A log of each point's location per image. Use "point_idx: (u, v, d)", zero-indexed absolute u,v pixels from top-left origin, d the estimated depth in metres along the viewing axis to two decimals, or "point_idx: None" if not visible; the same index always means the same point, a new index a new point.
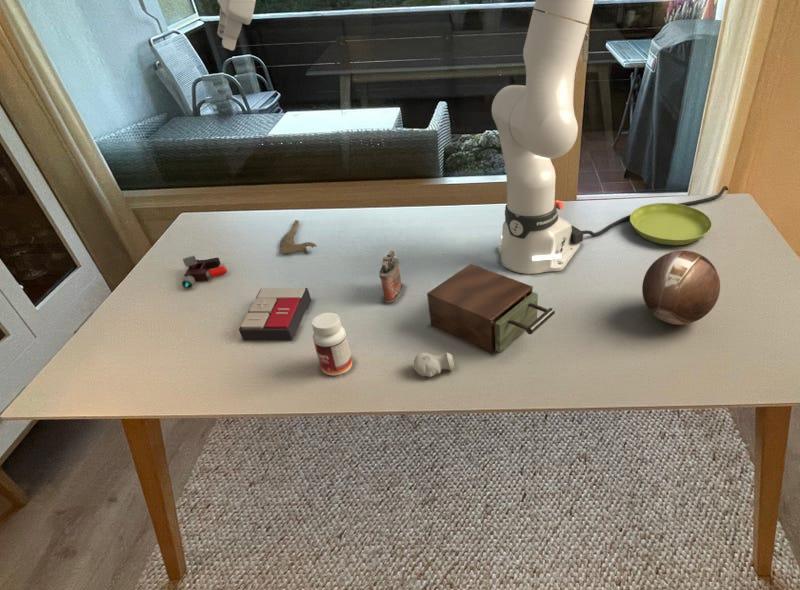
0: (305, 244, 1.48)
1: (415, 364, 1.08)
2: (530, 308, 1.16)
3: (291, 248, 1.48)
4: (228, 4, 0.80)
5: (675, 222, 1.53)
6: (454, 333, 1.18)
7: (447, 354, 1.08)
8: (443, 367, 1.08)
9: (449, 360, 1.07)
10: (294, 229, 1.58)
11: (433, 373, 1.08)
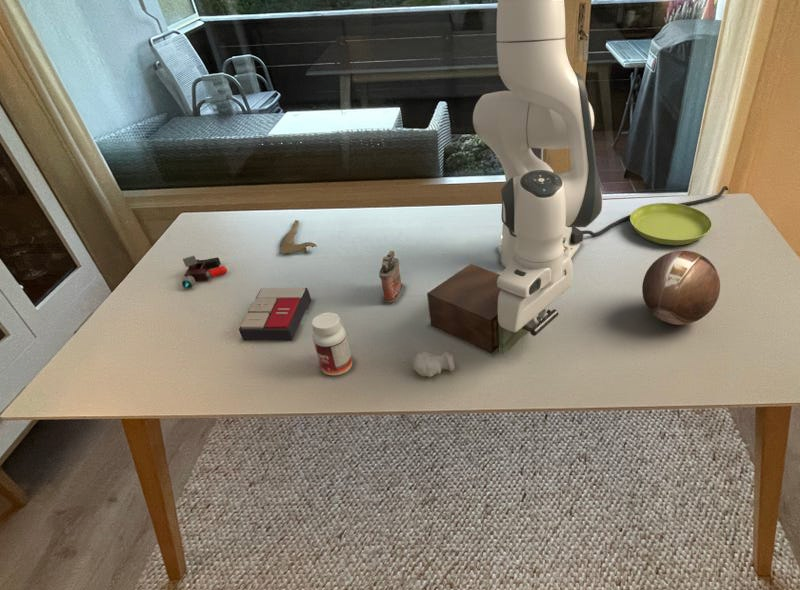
0: (305, 244, 1.48)
1: (415, 364, 1.08)
2: None
3: (291, 248, 1.48)
4: None
5: (675, 222, 1.53)
6: (454, 333, 1.18)
7: (447, 354, 1.08)
8: (443, 367, 1.08)
9: (449, 360, 1.07)
10: (294, 229, 1.58)
11: (433, 373, 1.08)
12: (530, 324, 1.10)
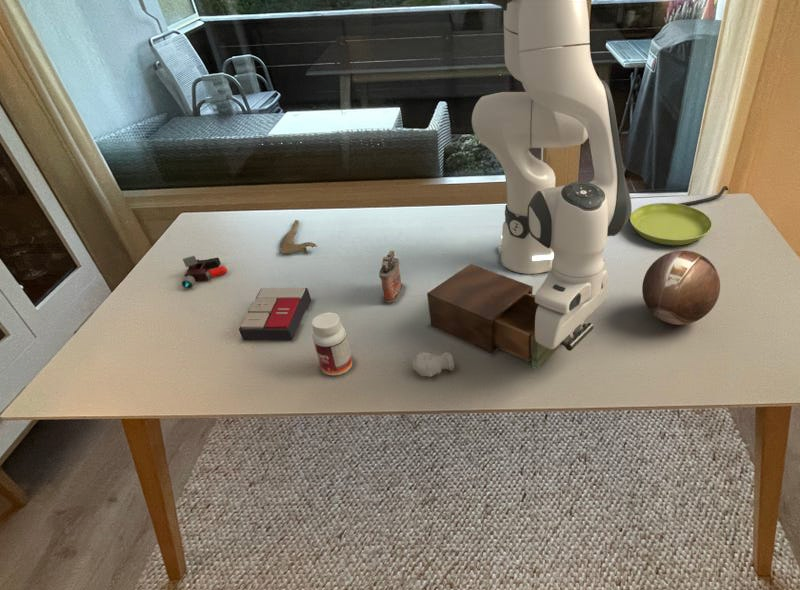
0: (305, 244, 1.48)
1: (415, 364, 1.08)
2: None
3: (291, 248, 1.48)
4: (607, 292, 1.09)
5: (675, 222, 1.53)
6: (454, 333, 1.18)
7: (447, 354, 1.08)
8: (443, 367, 1.08)
9: (449, 360, 1.07)
10: (294, 229, 1.58)
11: (433, 373, 1.08)
12: (565, 339, 1.07)
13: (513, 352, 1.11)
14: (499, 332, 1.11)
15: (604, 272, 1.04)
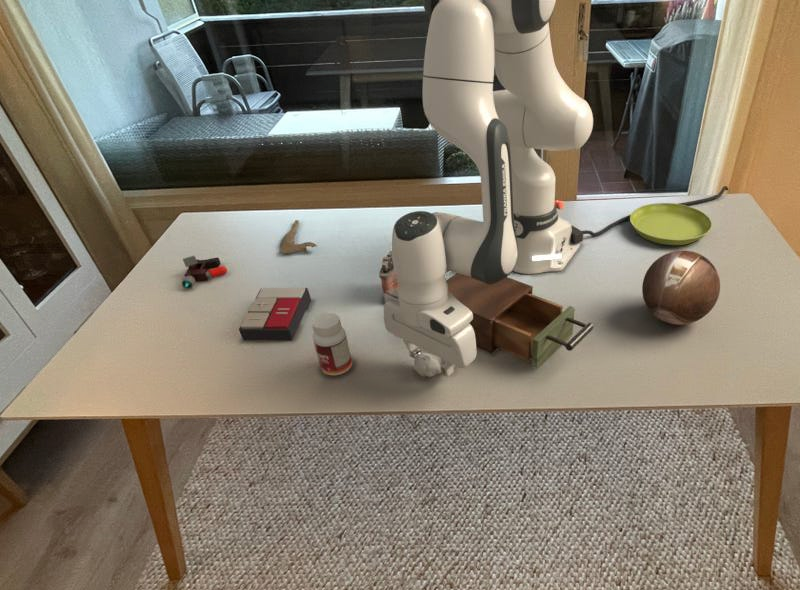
0: (305, 244, 1.48)
1: (415, 364, 1.08)
2: (567, 322, 1.12)
3: (291, 248, 1.48)
4: None
5: (675, 222, 1.53)
6: None
7: None
8: None
9: None
10: (294, 229, 1.58)
11: (433, 373, 1.08)
12: (448, 371, 1.06)
13: (513, 352, 1.11)
14: (499, 332, 1.11)
15: None
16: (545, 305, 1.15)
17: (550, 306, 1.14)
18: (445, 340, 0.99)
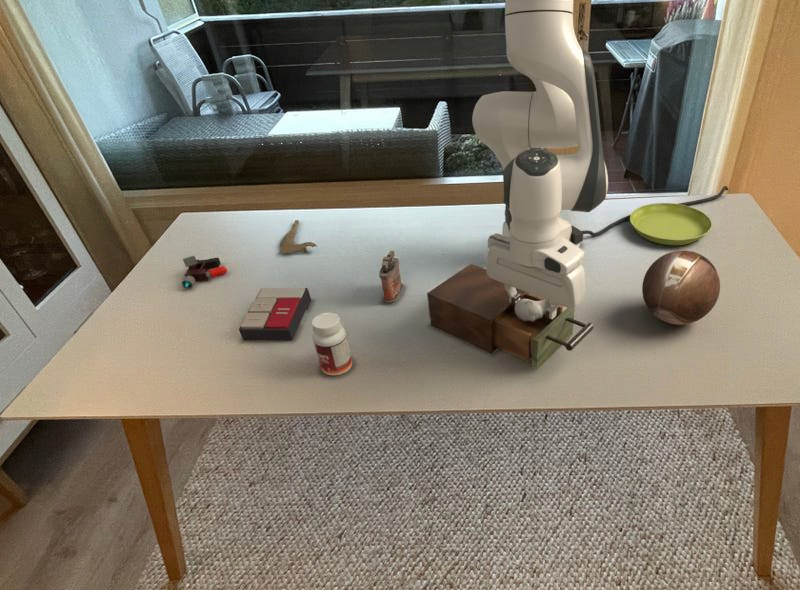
0: (305, 244, 1.48)
1: (517, 309, 1.09)
2: (567, 322, 1.12)
3: (291, 248, 1.48)
4: None
5: (675, 222, 1.53)
6: (454, 333, 1.18)
7: None
8: None
9: None
10: (294, 229, 1.58)
11: (536, 317, 1.09)
12: (552, 314, 1.07)
13: (513, 352, 1.11)
14: (499, 332, 1.11)
15: None
16: None
17: None
18: (556, 280, 1.00)
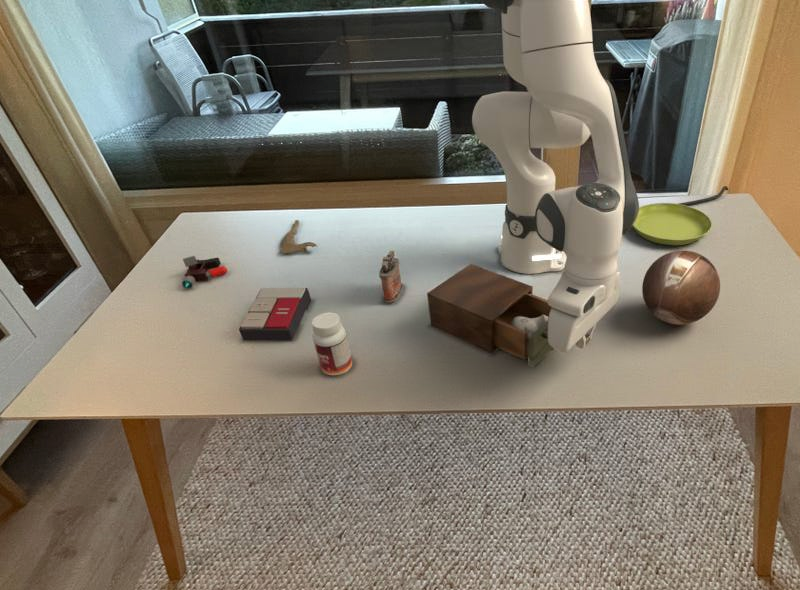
0: (305, 244, 1.48)
1: None
2: None
3: (291, 248, 1.48)
4: (619, 293, 1.08)
5: (675, 222, 1.53)
6: (454, 333, 1.18)
7: (544, 316, 1.13)
8: None
9: None
10: (294, 229, 1.58)
11: (531, 334, 1.13)
12: (577, 341, 1.05)
13: (509, 350, 1.12)
14: (495, 331, 1.11)
15: (617, 274, 1.03)
16: (541, 304, 1.15)
17: (546, 305, 1.14)
18: None
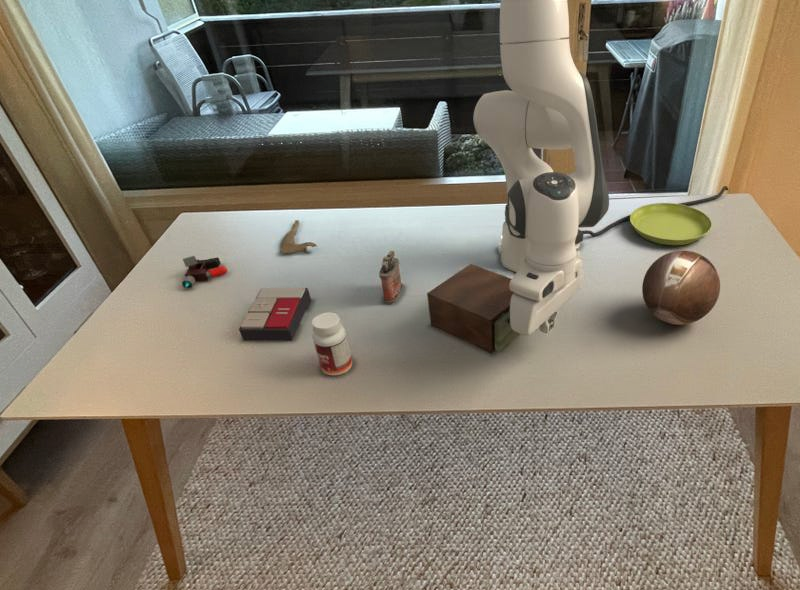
0: (305, 244, 1.48)
1: None
2: None
3: (291, 248, 1.48)
4: (582, 281, 1.12)
5: (675, 222, 1.53)
6: (454, 333, 1.18)
7: None
8: None
9: None
10: (294, 229, 1.58)
11: None
12: (541, 327, 1.09)
13: None
14: None
15: (578, 261, 1.07)
16: None
17: None
18: None
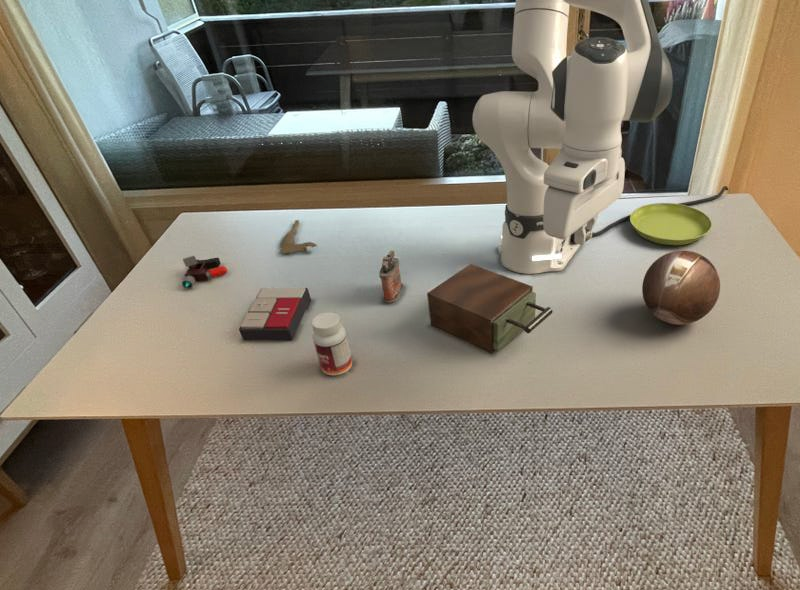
0: (305, 244, 1.48)
1: None
2: (528, 307, 1.16)
3: (291, 248, 1.48)
4: (623, 187, 0.98)
5: (675, 222, 1.53)
6: (454, 333, 1.18)
7: None
8: None
9: None
10: (294, 229, 1.58)
11: None
12: (576, 237, 0.95)
13: None
14: None
15: (620, 159, 0.93)
16: None
17: None
18: None
